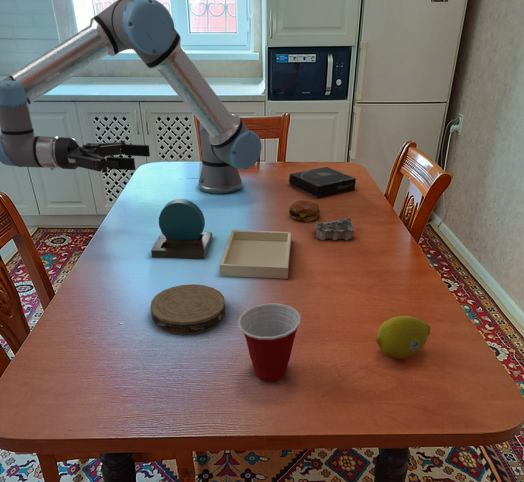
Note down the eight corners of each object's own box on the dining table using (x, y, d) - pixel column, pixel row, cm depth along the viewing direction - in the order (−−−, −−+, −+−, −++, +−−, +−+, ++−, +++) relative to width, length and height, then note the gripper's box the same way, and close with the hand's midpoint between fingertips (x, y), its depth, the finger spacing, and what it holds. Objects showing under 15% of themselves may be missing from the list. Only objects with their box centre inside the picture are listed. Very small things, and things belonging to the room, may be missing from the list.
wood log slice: (138, 326, 102) (135, 314, 101) (174, 290, 114) (172, 279, 113) (206, 341, 98) (205, 328, 96) (236, 302, 110) (236, 291, 108)
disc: (163, 246, 135) (154, 203, 128) (166, 241, 138) (157, 199, 131) (205, 244, 134) (199, 202, 127) (207, 240, 137) (201, 197, 130)
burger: (310, 209, 157) (311, 194, 154) (325, 219, 150) (326, 204, 147) (282, 214, 153) (283, 199, 151) (296, 224, 147) (297, 209, 144)
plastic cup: (238, 356, 94) (236, 302, 87) (293, 353, 95) (296, 300, 88) (241, 393, 85) (239, 337, 78) (302, 389, 86) (305, 334, 79)
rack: (151, 257, 129) (150, 250, 128) (164, 237, 139) (163, 230, 138) (204, 259, 128) (203, 252, 127) (212, 238, 138) (212, 232, 137)
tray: (232, 240, 138) (231, 229, 136) (291, 242, 137) (291, 231, 135) (220, 276, 120) (219, 265, 119) (287, 278, 119) (287, 267, 117)
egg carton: (351, 231, 143) (353, 217, 140) (353, 241, 137) (355, 227, 134) (314, 229, 143) (315, 216, 141) (315, 240, 137) (316, 226, 135)
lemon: (378, 368, 91) (385, 333, 86) (366, 344, 97) (371, 310, 93) (434, 363, 92) (443, 328, 87) (418, 340, 98) (426, 306, 94)
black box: (324, 177, 183) (325, 166, 181) (354, 190, 172) (355, 178, 169) (288, 184, 176) (289, 173, 174) (317, 198, 165) (317, 186, 162)
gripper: (80, 156, 137) (155, 160, 136) (41, 182, 116) (129, 186, 115) (75, 127, 132) (153, 131, 131) (34, 148, 112) (125, 153, 111)
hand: (142, 157), depth 123 cm, fingers open, 13 cm apart
